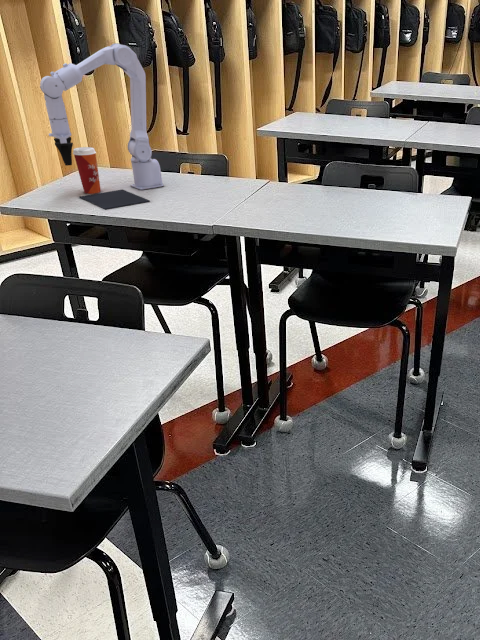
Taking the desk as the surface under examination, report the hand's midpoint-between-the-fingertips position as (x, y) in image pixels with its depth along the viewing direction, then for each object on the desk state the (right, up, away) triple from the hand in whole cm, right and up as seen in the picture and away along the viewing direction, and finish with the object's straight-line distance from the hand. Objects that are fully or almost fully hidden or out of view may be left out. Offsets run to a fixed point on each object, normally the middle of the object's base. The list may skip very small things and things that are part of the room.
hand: (68, 163), depth 223 cm
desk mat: (+16, -12, +1) cm, 20 cm away
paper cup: (+5, -6, +9) cm, 12 cm away
